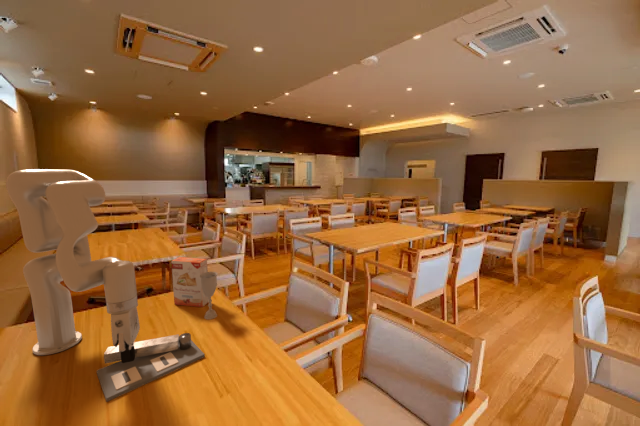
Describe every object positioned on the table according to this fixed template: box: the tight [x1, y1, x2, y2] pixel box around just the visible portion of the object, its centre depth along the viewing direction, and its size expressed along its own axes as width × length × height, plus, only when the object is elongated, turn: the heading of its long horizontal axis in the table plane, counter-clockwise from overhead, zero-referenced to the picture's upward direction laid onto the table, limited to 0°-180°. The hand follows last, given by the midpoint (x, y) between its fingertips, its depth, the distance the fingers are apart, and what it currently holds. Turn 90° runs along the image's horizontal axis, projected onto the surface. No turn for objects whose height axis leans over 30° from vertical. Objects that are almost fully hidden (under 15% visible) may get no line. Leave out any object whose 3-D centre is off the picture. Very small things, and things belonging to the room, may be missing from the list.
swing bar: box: [103, 332, 192, 364], centre depth 92 cm, size 4×24×4 cm, turn 111°
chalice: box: [200, 271, 218, 320], centre depth 118 cm, size 7×7×18 cm
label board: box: [96, 339, 206, 403], centre depth 89 cm, size 15×26×1 cm, turn 135°
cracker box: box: [171, 256, 209, 308], centre depth 128 cm, size 14×6×21 cm, turn 81°
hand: (128, 360), depth 87 cm, fingers closed
